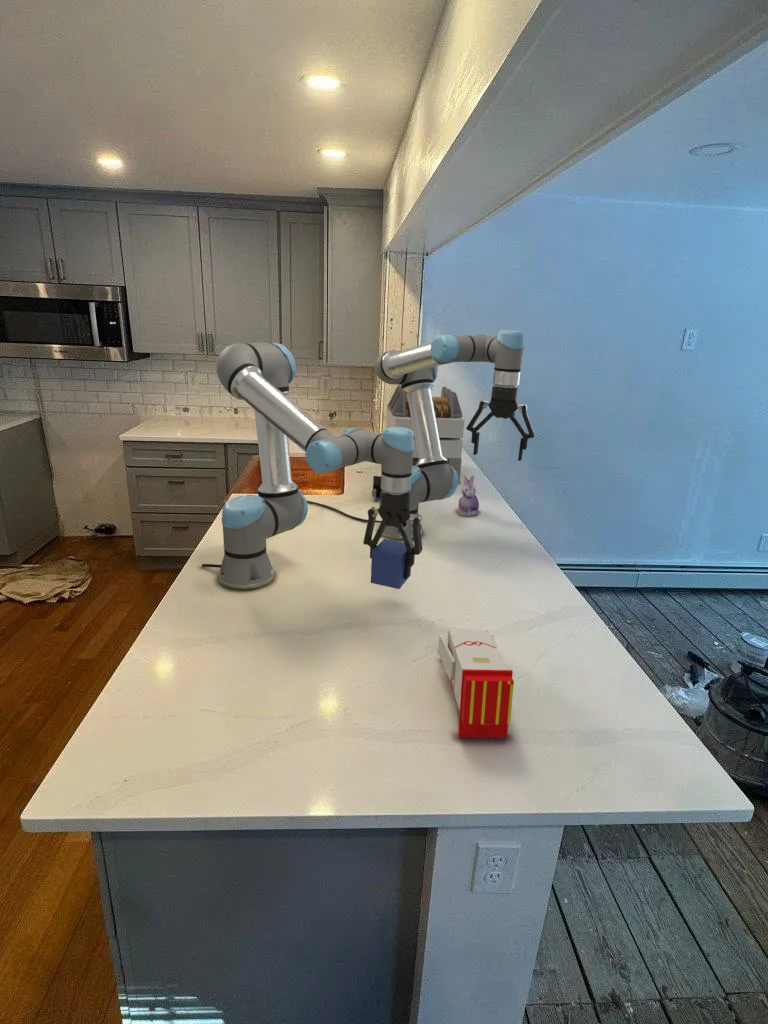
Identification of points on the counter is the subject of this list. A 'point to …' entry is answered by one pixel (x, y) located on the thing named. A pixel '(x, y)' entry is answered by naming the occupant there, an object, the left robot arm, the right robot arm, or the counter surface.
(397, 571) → the block
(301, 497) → the left robot arm
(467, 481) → the figurine
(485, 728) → the toy
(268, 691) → the counter surface
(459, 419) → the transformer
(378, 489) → the figurine character
